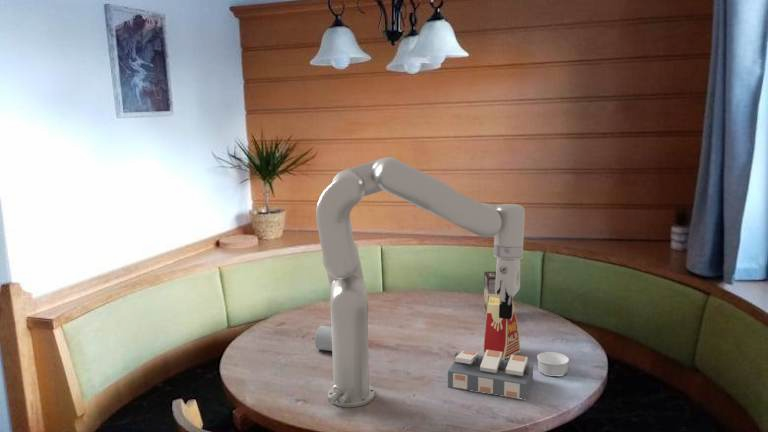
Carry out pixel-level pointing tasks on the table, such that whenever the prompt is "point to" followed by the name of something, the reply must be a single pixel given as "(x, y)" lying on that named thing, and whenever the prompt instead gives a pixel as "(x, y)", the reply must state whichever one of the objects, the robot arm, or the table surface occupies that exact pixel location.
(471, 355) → the rocker
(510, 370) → the rocker
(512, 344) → the milk carton
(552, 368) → the ramekin
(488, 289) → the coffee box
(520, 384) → the switch unit
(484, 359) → the block
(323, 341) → the ceramic mug
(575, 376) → the table surface
